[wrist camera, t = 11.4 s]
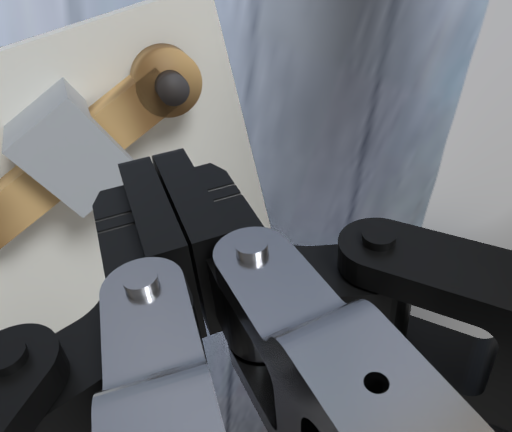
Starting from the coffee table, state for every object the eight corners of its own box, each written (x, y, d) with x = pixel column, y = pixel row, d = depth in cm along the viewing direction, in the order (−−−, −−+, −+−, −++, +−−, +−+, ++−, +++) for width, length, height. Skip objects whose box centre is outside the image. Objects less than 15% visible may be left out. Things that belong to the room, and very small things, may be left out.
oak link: (168, 29, 31) (181, 40, 29) (205, 81, 34) (220, 95, 31) (-47, 202, 31) (-53, 227, 29) (7, 240, 34) (6, 266, 32)
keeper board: (204, -19, 32) (232, -8, 28) (270, 238, 46) (295, 272, 42) (-196, 110, 27) (-236, 148, 23) (13, 353, 42) (13, 404, 37)
